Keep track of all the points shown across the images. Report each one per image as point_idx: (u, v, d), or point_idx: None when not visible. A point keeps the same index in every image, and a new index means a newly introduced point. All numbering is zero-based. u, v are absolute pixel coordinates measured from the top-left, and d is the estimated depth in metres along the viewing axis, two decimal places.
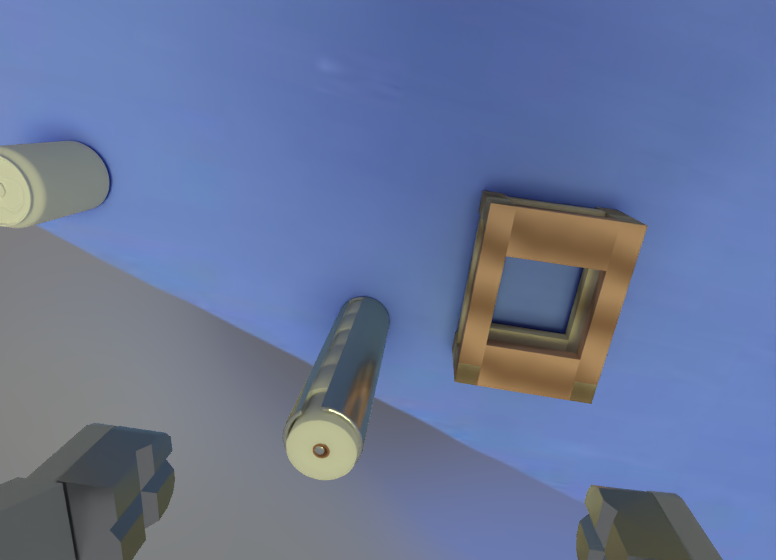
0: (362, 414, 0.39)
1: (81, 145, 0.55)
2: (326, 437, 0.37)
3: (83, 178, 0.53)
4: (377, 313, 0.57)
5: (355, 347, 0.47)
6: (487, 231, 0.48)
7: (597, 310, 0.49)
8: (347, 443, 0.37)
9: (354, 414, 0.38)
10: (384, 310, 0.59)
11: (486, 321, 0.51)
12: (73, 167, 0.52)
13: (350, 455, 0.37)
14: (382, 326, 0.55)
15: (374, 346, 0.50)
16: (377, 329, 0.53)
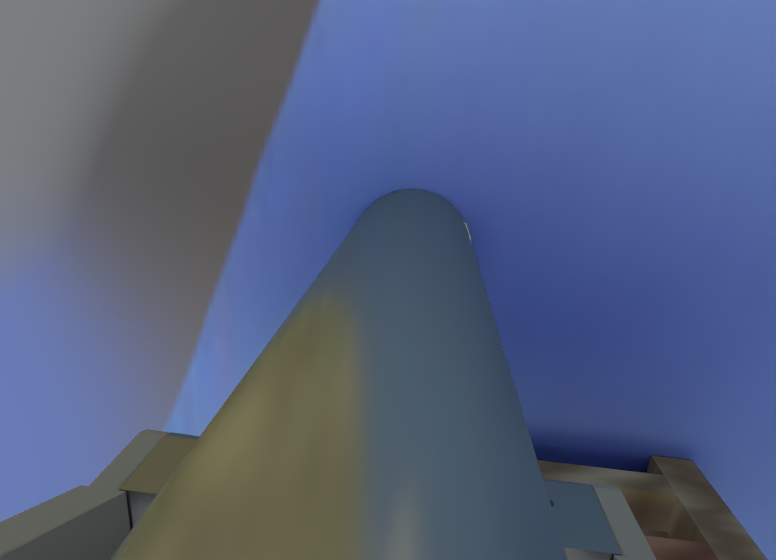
0: None
1: None
2: None
3: None
4: None
5: None
6: None
7: None
8: None
9: None
10: None
11: None
12: None
13: None
14: None
15: None
16: None
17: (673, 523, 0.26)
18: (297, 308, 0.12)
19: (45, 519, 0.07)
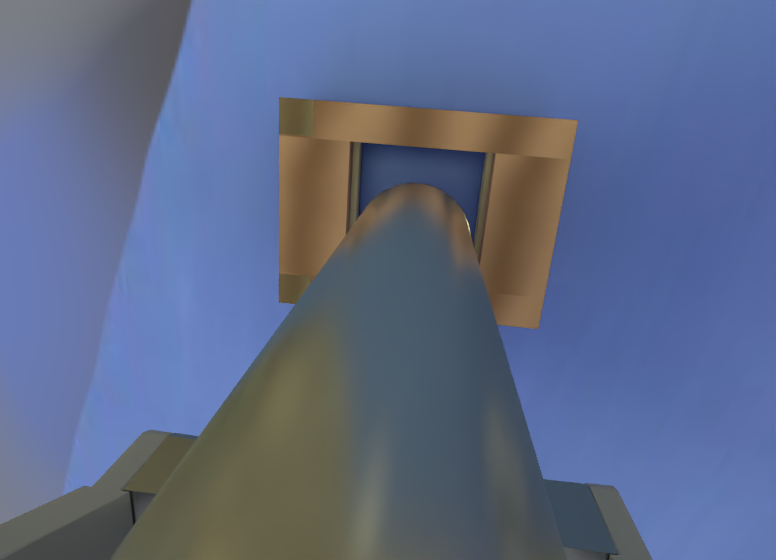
0: None
1: None
2: None
3: None
4: None
5: None
6: (534, 120, 0.32)
7: None
8: None
9: None
10: None
11: (389, 136, 0.33)
12: None
13: None
14: None
15: None
16: None
17: None
18: (309, 290, 0.13)
19: (49, 519, 0.07)
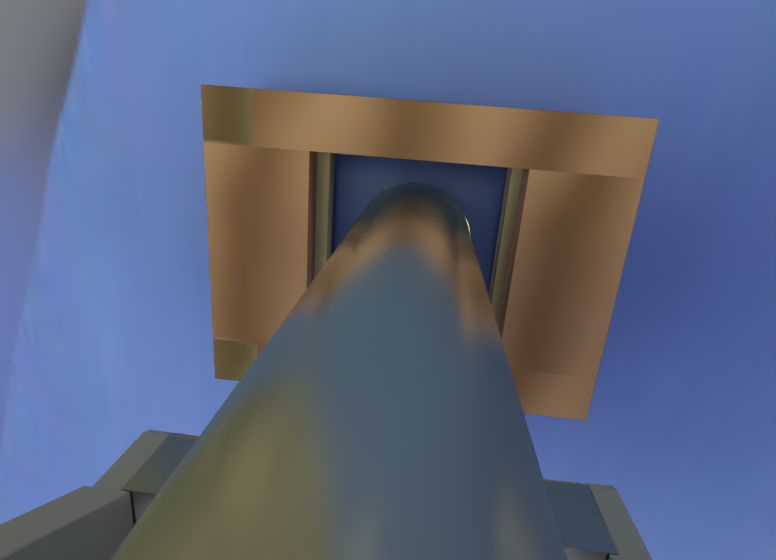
0: None
1: None
2: None
3: None
4: None
5: None
6: (590, 119, 0.21)
7: None
8: None
9: None
10: None
11: (368, 143, 0.22)
12: None
13: None
14: None
15: None
16: None
17: None
18: (309, 290, 0.13)
19: (49, 520, 0.07)
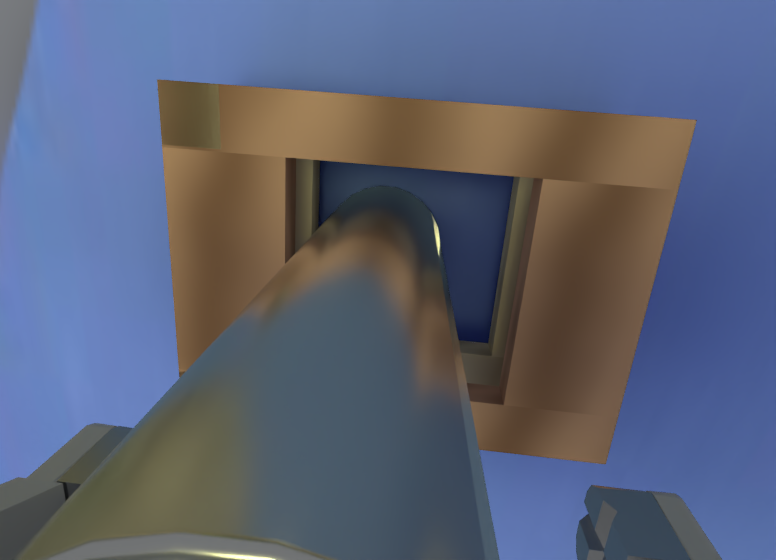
0: None
1: None
2: None
3: None
4: None
5: None
6: (615, 120, 0.18)
7: None
8: None
9: None
10: None
11: (354, 148, 0.19)
12: None
13: None
14: None
15: None
16: None
17: None
18: (264, 287, 0.13)
19: None
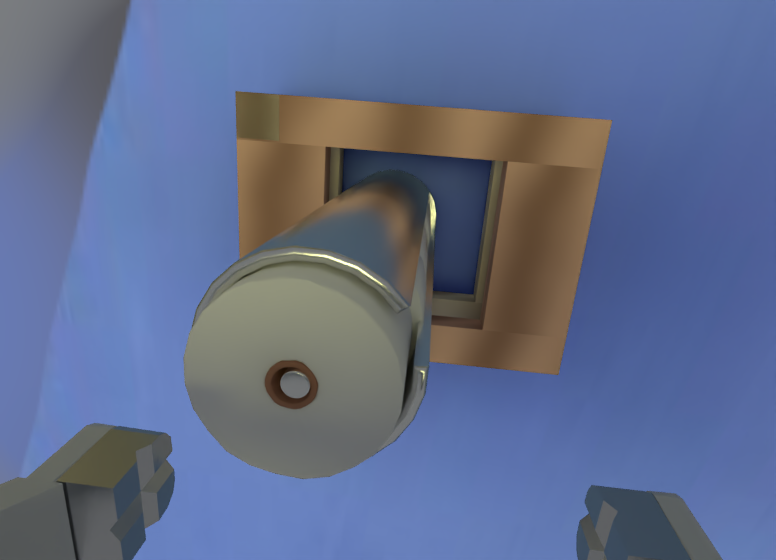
0: None
1: None
2: (343, 401, 0.12)
3: None
4: None
5: None
6: (556, 120, 0.25)
7: None
8: (331, 457, 0.12)
9: None
10: None
11: (375, 140, 0.26)
12: None
13: (291, 462, 0.13)
14: None
15: None
16: None
17: None
18: None
19: None
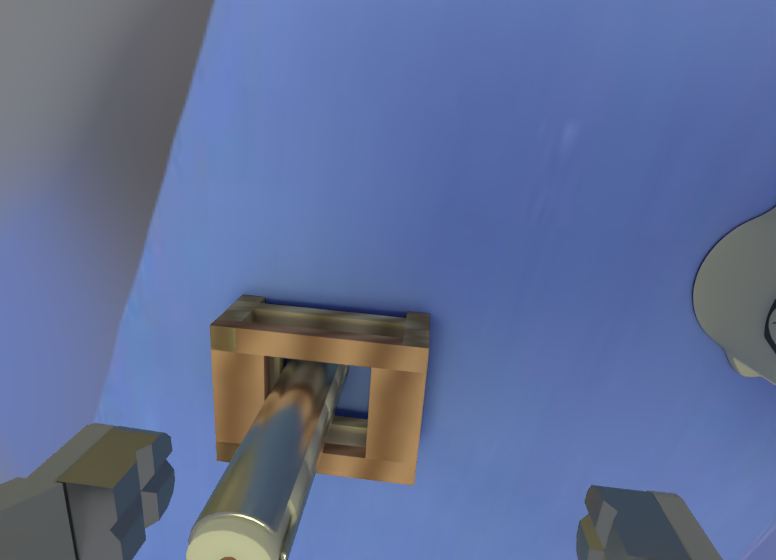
0: None
1: None
2: None
3: None
4: None
5: None
6: (397, 347, 0.43)
7: (322, 455, 0.47)
8: None
9: None
10: None
11: (292, 353, 0.44)
12: None
13: None
14: None
15: None
16: None
17: None
18: (249, 431, 0.39)
19: None
